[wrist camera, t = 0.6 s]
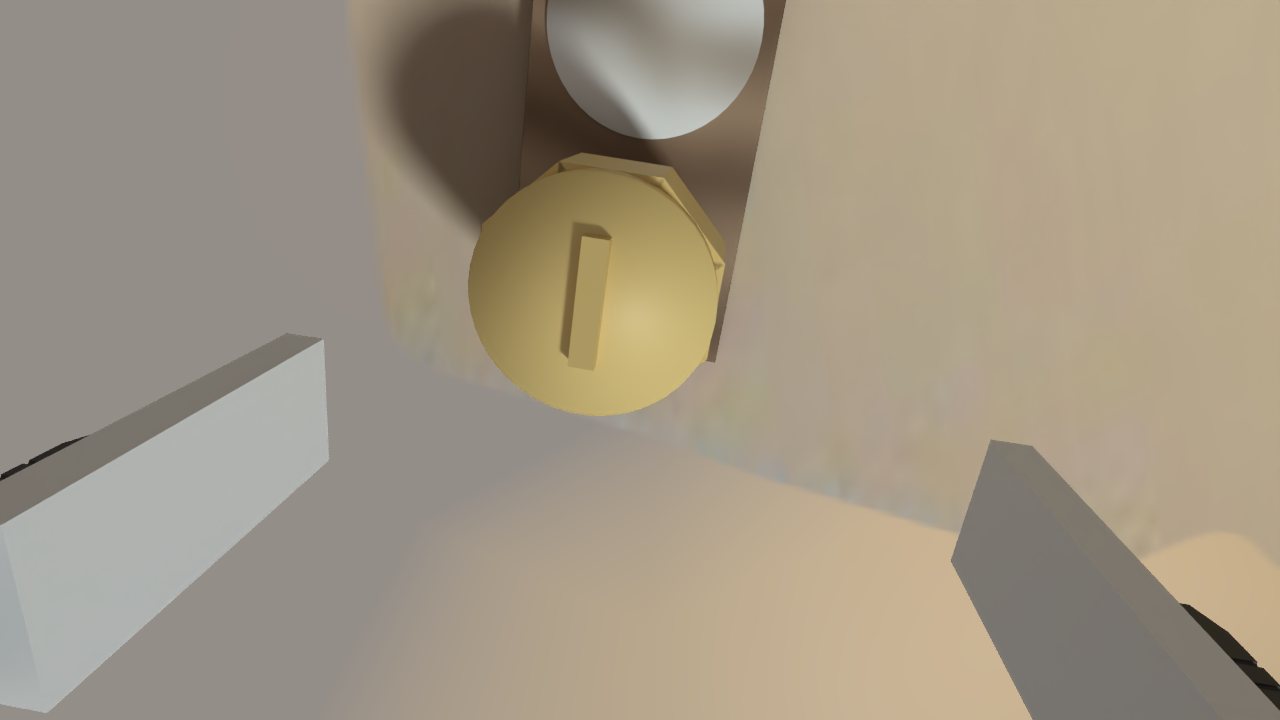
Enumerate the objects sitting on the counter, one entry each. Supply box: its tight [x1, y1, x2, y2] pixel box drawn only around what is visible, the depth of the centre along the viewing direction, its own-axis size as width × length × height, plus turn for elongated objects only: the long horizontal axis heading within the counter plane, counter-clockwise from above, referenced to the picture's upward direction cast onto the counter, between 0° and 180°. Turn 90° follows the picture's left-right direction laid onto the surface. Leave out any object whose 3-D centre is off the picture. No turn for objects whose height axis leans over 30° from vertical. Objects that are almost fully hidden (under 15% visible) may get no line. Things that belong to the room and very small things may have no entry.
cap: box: [468, 153, 725, 416], centre depth 28 cm, size 9×9×6 cm
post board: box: [519, 0, 786, 362], centre depth 29 cm, size 20×11×9 cm, turn 172°
